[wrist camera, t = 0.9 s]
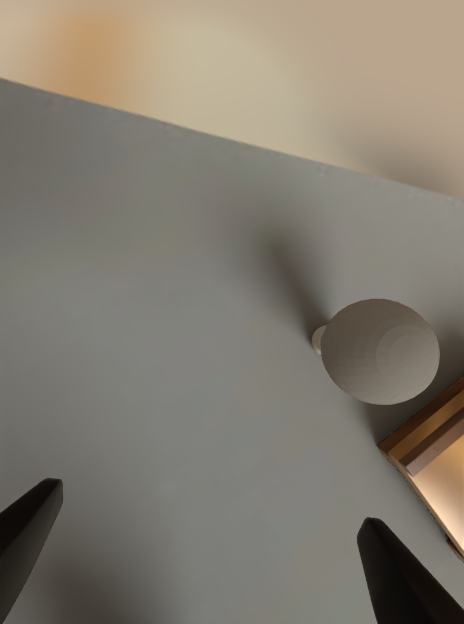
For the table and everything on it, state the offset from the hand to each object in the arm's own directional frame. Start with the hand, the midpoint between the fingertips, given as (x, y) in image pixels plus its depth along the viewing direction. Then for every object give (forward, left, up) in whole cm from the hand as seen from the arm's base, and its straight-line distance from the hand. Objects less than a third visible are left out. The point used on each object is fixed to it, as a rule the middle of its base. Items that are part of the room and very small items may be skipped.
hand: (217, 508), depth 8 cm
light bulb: (+3, -9, -14) cm, 17 cm away
